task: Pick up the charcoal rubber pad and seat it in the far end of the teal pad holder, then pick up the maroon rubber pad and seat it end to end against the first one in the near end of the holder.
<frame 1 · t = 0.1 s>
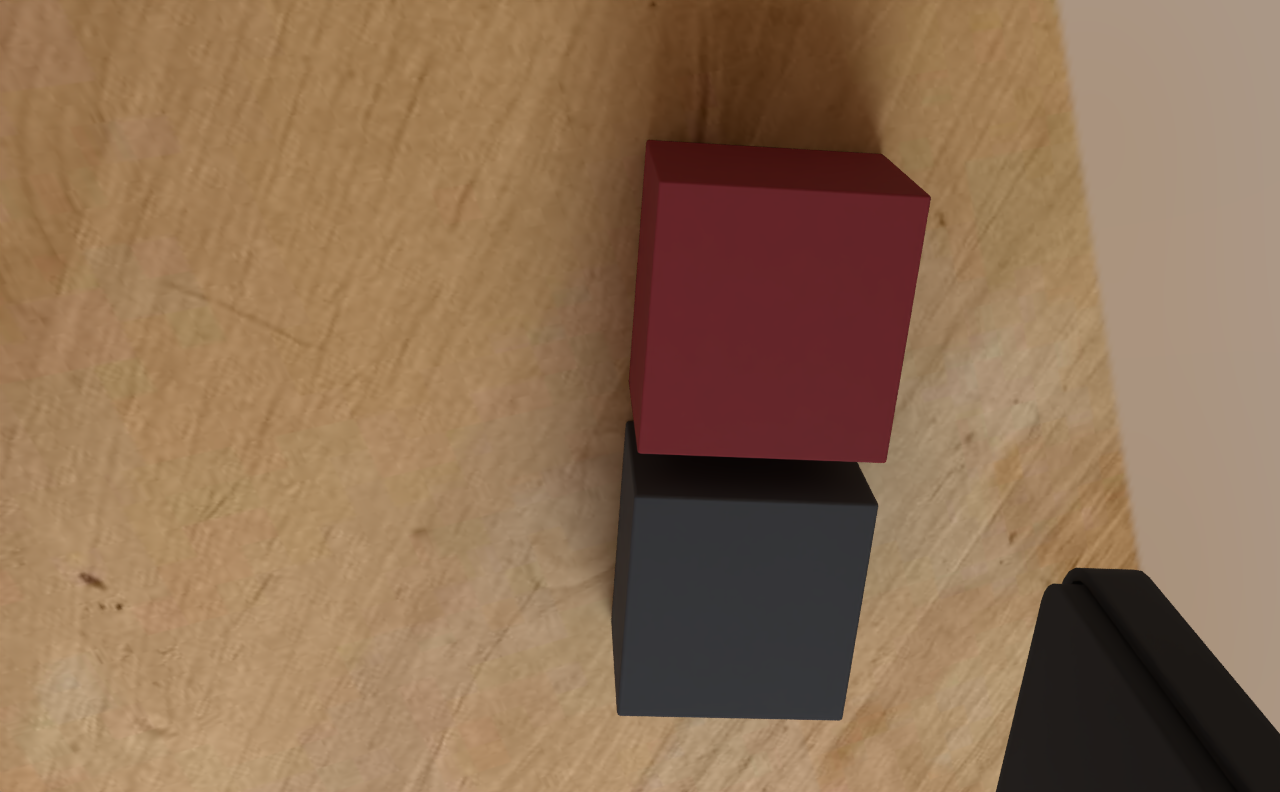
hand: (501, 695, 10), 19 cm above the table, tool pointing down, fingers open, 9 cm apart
charcoal pad: (722, 528, 31), on the table
maroon pad: (751, 272, 29), on the table
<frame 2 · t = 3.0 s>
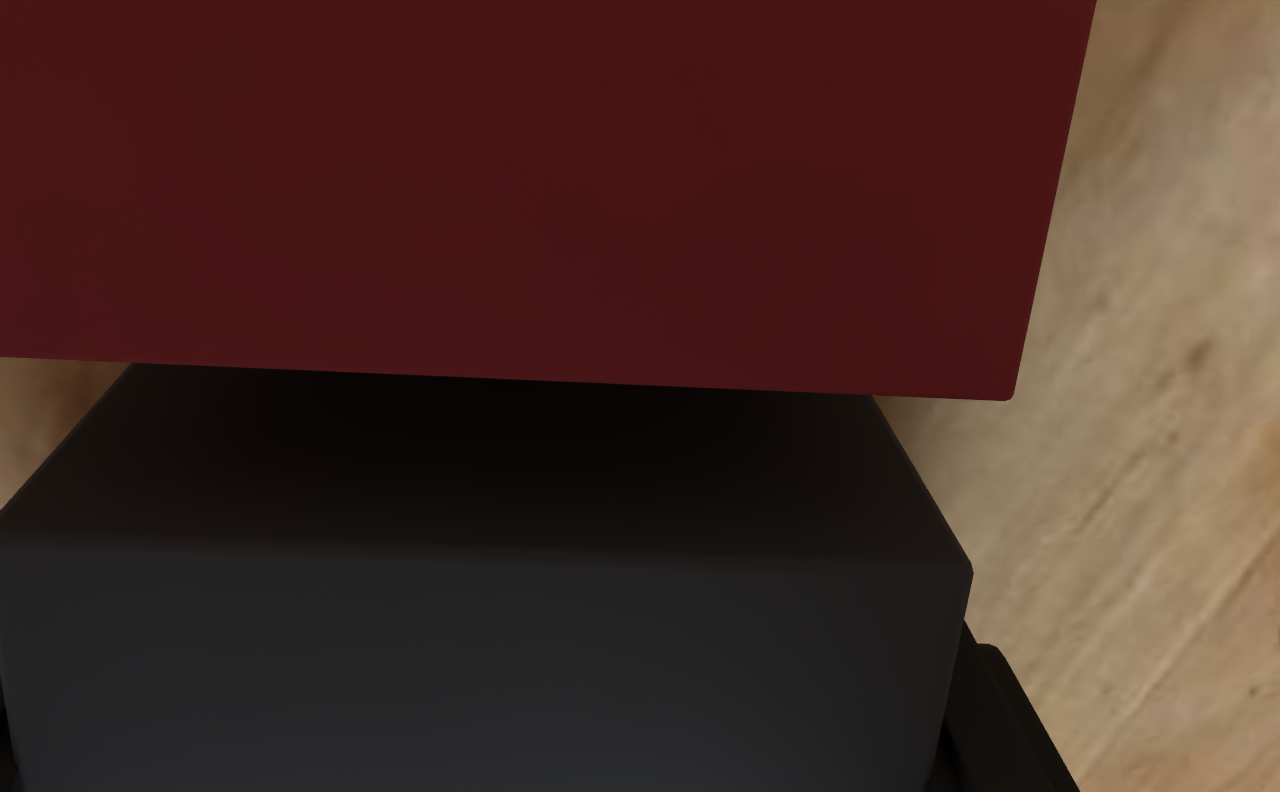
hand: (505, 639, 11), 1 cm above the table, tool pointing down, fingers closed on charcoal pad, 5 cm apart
charcoal pad: (508, 608, 11), on the table, touching gripper
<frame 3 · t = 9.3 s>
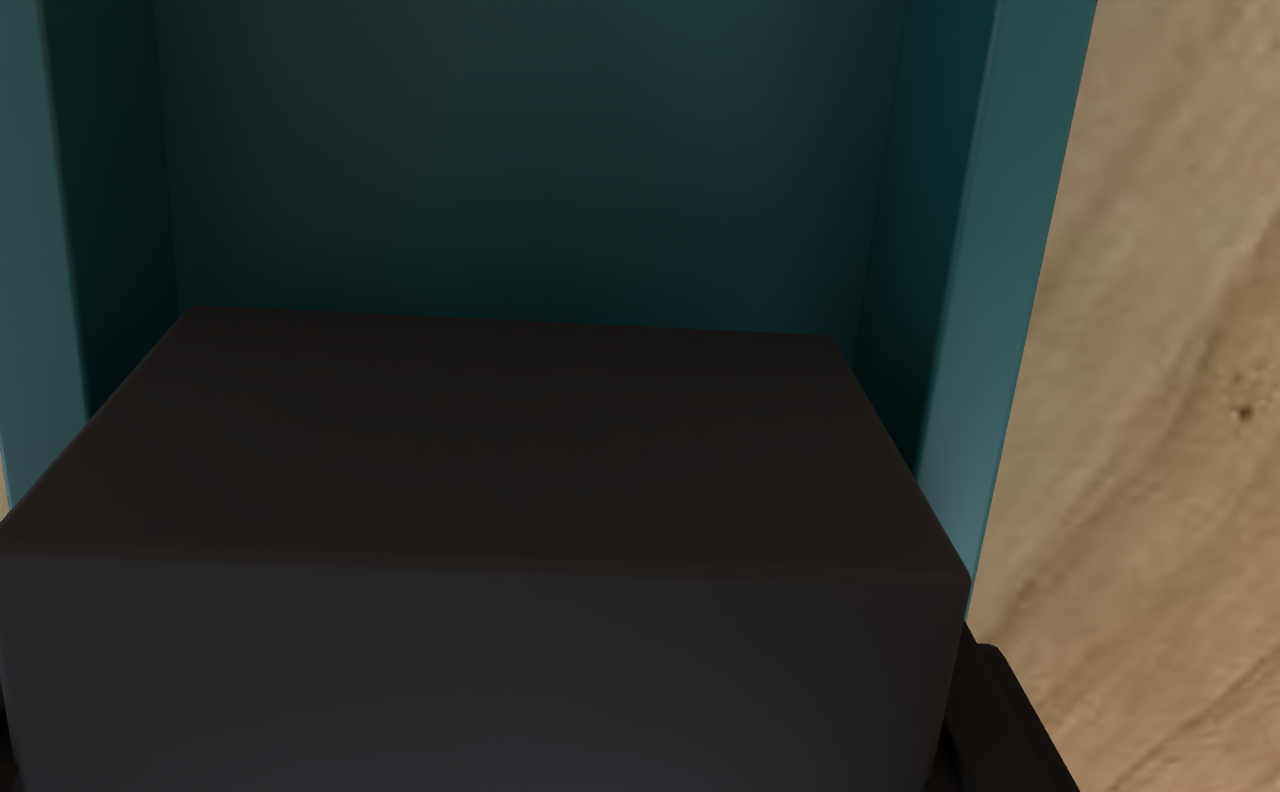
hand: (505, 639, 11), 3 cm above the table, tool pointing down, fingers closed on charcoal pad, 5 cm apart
pad holder: (530, 199, 12), on the table
charcoal pad: (507, 614, 11), point 3 cm above the table, touching gripper
when the fingers open (3 cm above the table, at t = 12.6 s): charcoal pad drops 2 cm, resting on pad holder.
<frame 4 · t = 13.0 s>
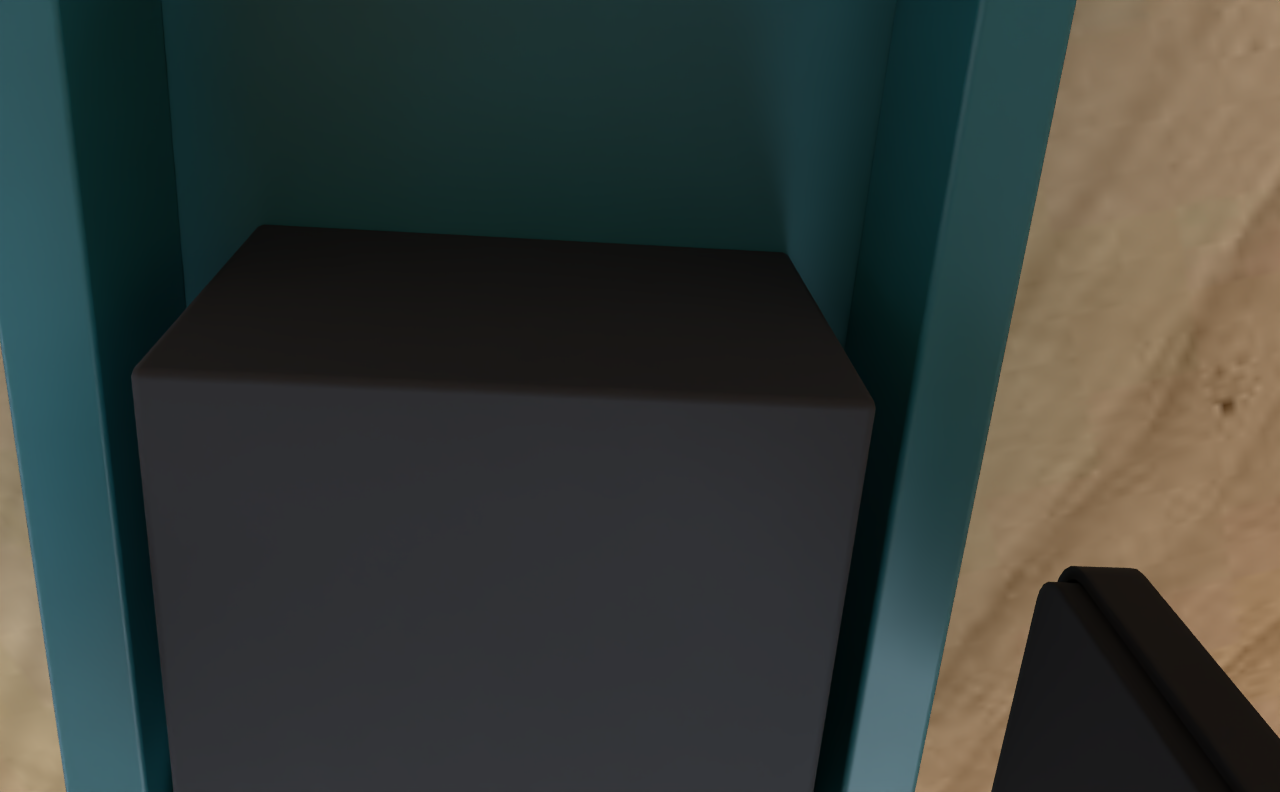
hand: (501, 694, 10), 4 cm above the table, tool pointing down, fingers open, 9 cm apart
pad holder: (528, 197, 13), on the table
charcoal pad: (518, 492, 14), resting on pad holder
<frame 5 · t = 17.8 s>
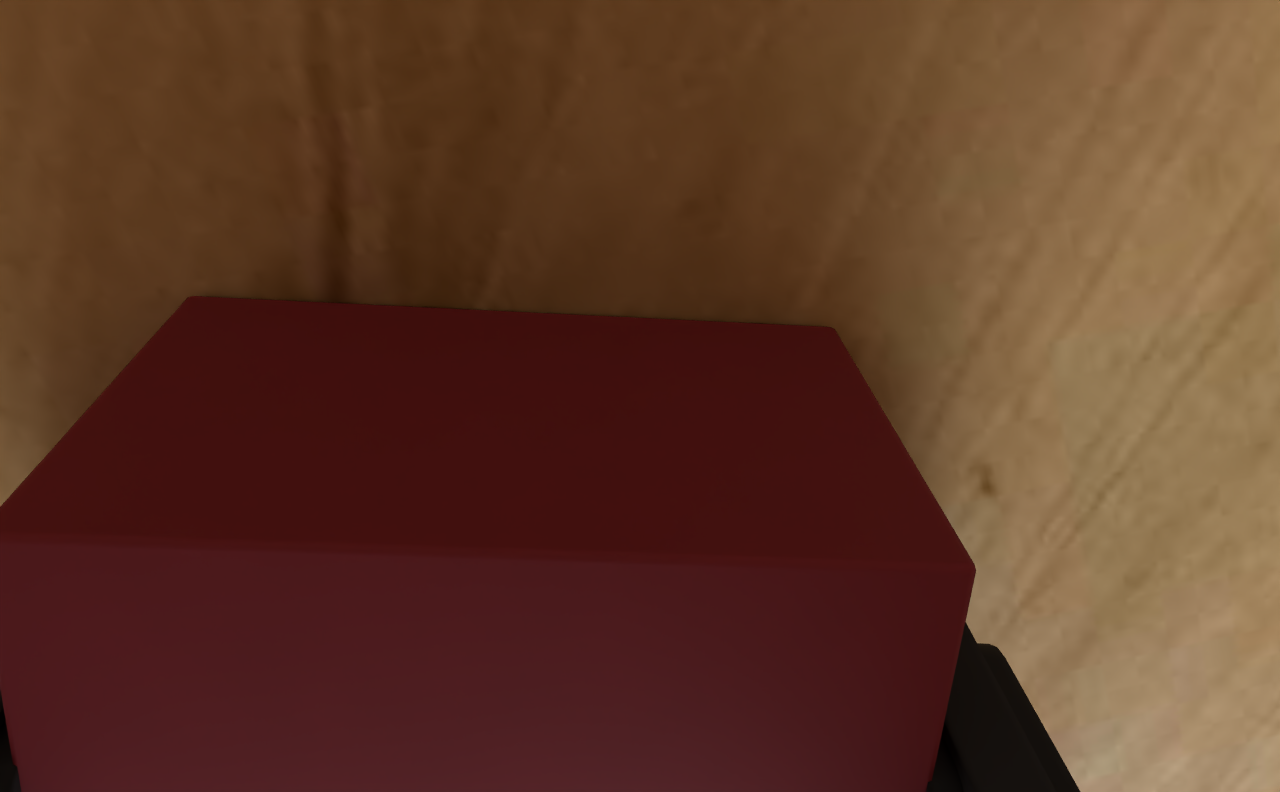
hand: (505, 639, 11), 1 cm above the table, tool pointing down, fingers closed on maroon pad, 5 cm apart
maroon pad: (508, 608, 11), on the table, touching gripper
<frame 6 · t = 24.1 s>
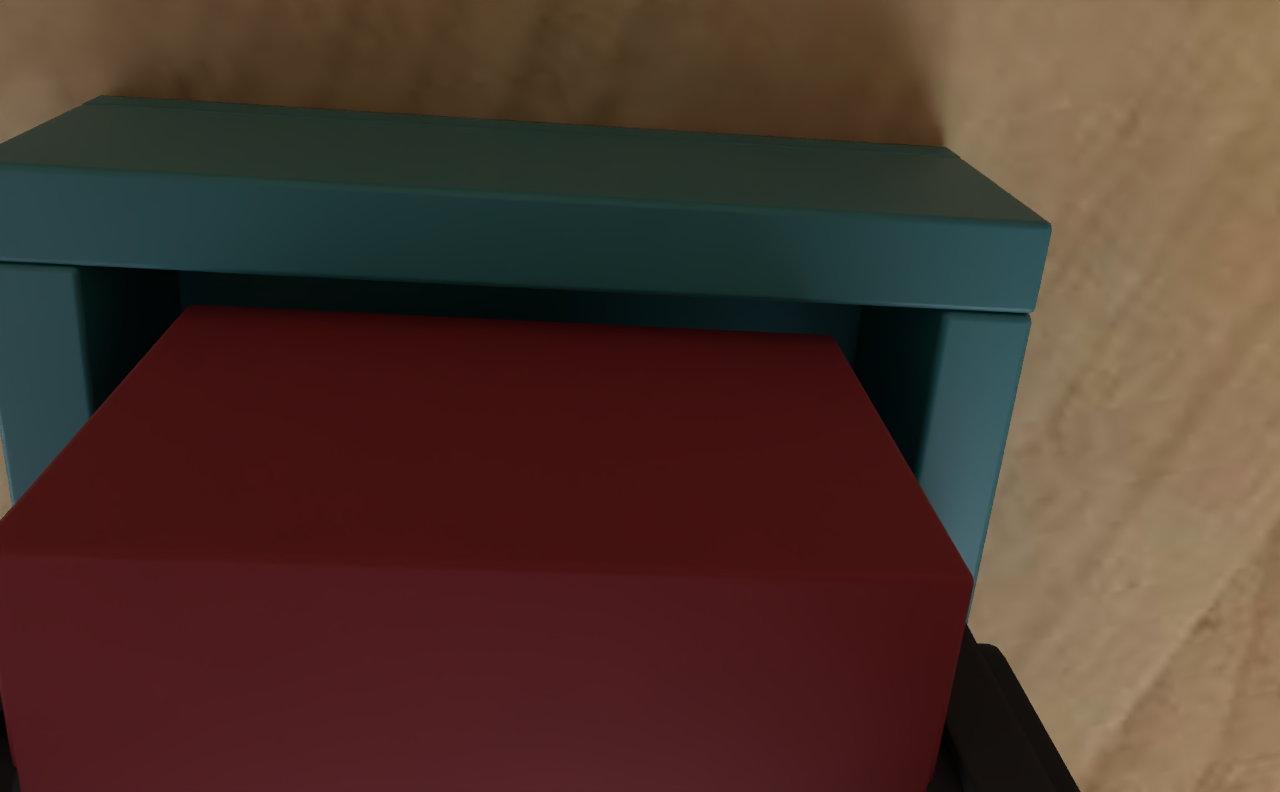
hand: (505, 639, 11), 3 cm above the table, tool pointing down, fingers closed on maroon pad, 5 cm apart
pad holder: (513, 707, 15), on the table
maroon pad: (507, 614, 11), point 3 cm above the table, touching gripper
when the fingers open (3 cm above the table, at t = 27.4 s): maroon pad drops 2 cm, resting on pad holder.
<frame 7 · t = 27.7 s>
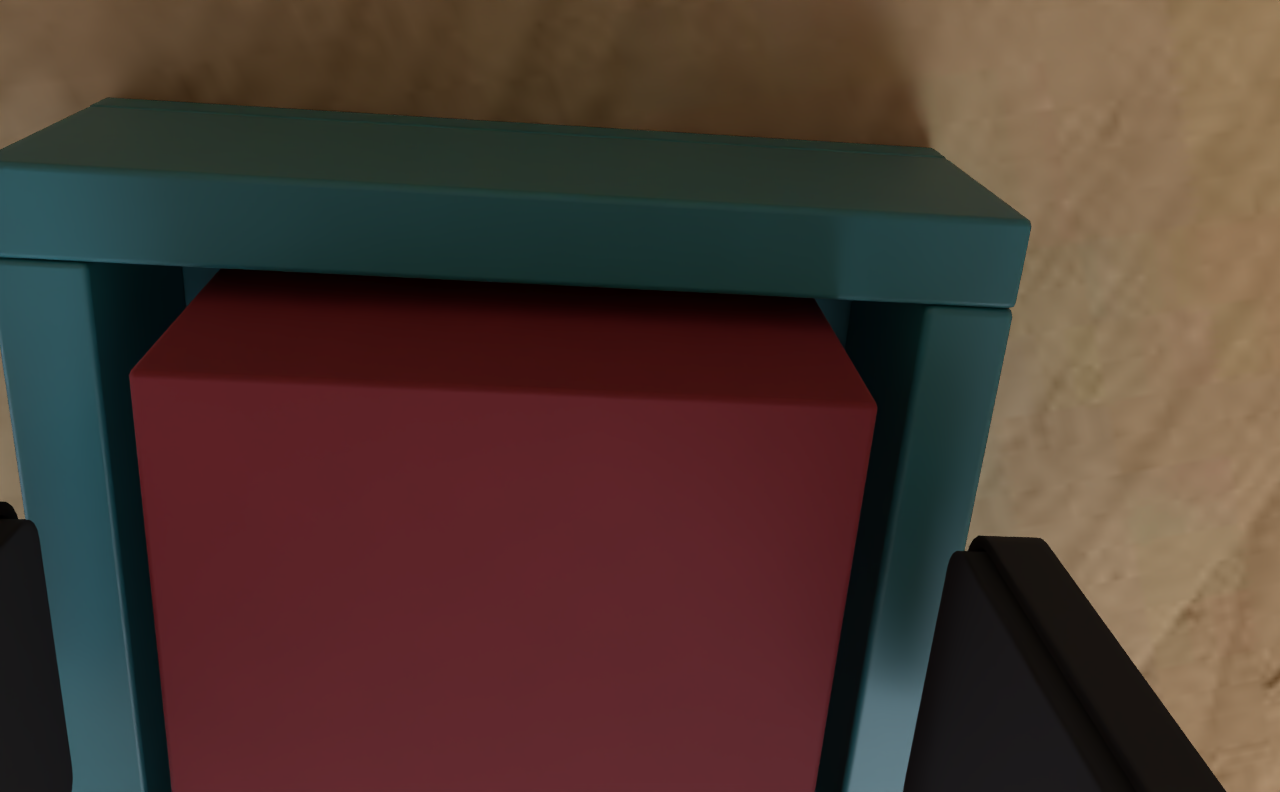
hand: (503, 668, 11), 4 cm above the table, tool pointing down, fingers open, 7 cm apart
pad holder: (510, 697, 15), on the table
maroon pad: (518, 493, 14), resting on pad holder
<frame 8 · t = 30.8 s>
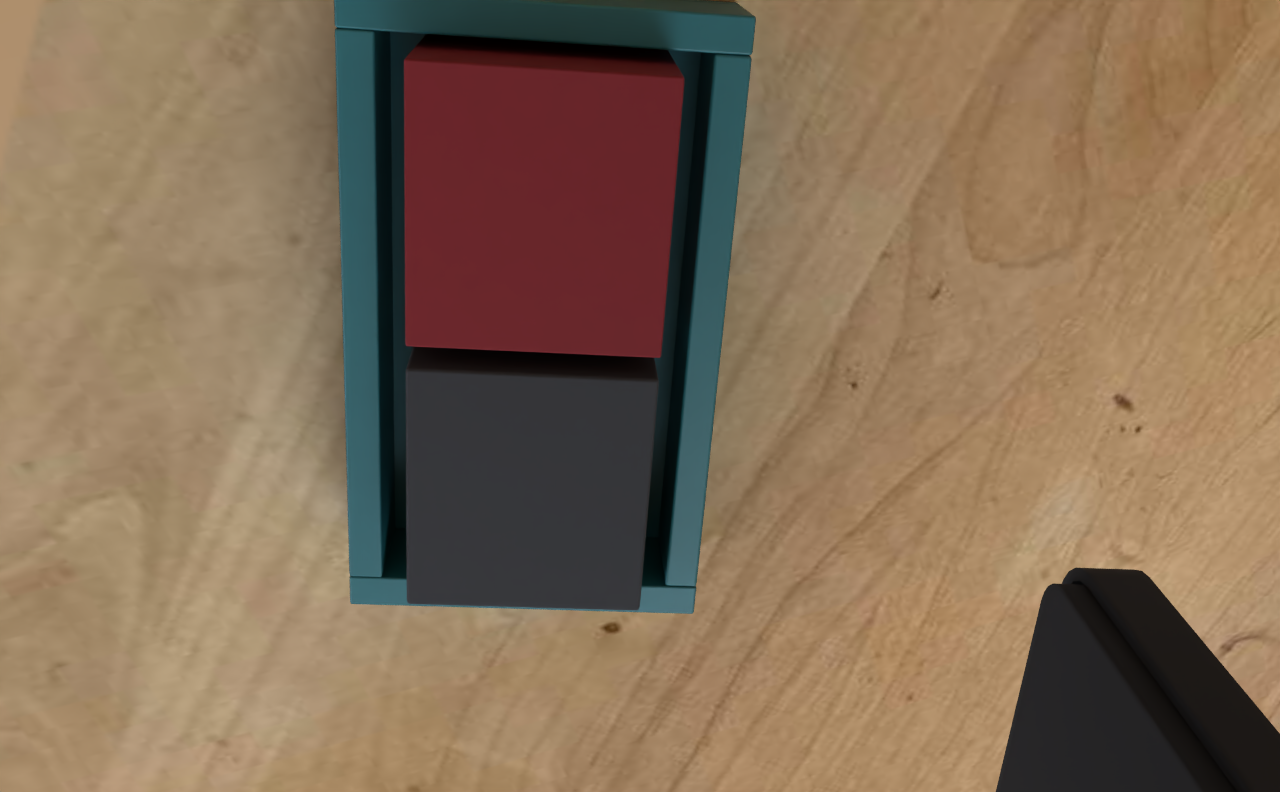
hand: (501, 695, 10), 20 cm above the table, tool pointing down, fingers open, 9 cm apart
pad holder: (537, 295, 30), on the table
charcoal pad: (532, 422, 31), resting on pad holder
maroon pad: (542, 173, 28), resting on pad holder
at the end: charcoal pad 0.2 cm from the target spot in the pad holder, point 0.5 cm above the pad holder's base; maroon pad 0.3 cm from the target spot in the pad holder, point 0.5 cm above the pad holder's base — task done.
